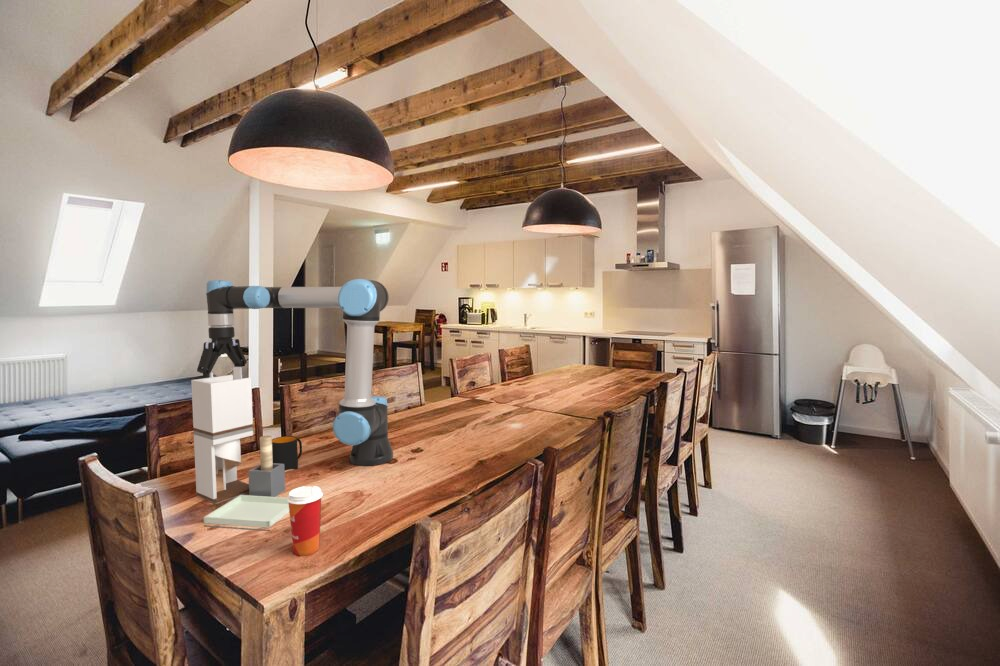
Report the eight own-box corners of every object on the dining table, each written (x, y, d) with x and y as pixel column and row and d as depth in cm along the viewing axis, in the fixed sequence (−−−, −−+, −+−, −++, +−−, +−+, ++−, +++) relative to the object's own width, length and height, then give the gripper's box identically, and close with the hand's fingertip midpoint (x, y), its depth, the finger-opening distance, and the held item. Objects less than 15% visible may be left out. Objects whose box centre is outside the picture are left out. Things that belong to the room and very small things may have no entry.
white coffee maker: (216, 507, 133) (210, 383, 130) (196, 498, 138) (191, 380, 136) (255, 493, 142) (251, 377, 140) (235, 485, 148) (231, 374, 145)
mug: (311, 463, 168) (310, 434, 168) (284, 474, 157) (283, 444, 156) (292, 460, 171) (292, 432, 171) (265, 471, 160) (264, 441, 159)
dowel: (276, 491, 141) (274, 435, 140) (269, 496, 138) (267, 438, 136) (266, 491, 141) (264, 435, 140) (259, 495, 138) (257, 438, 137)
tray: (299, 507, 133) (299, 498, 133) (269, 531, 119) (268, 521, 119) (240, 503, 135) (240, 494, 135) (203, 526, 121) (203, 517, 121)
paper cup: (295, 542, 114) (293, 485, 113) (328, 540, 114) (326, 484, 113) (283, 559, 106) (281, 499, 105) (318, 558, 107) (316, 497, 106)
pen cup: (285, 493, 142) (284, 463, 142) (271, 502, 136) (270, 472, 135) (264, 491, 143) (263, 462, 143) (249, 501, 137) (248, 470, 136)
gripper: (237, 324, 173) (239, 382, 174) (181, 328, 148) (185, 395, 149) (255, 324, 171) (258, 382, 173) (202, 328, 147) (206, 396, 148)
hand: (224, 388), depth 161 cm, fingers open, 13 cm apart
